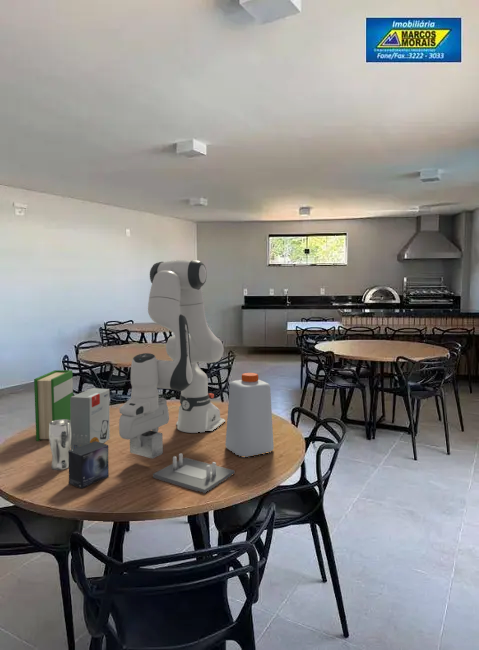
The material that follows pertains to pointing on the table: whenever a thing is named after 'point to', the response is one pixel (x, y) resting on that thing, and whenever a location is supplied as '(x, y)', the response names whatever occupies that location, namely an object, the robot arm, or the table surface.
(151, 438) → the block
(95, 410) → the hard drive box
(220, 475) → the tray
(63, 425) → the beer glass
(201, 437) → the table surface
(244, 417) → the plastic bottle
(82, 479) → the small box
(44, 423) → the hardback book
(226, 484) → the table surface
